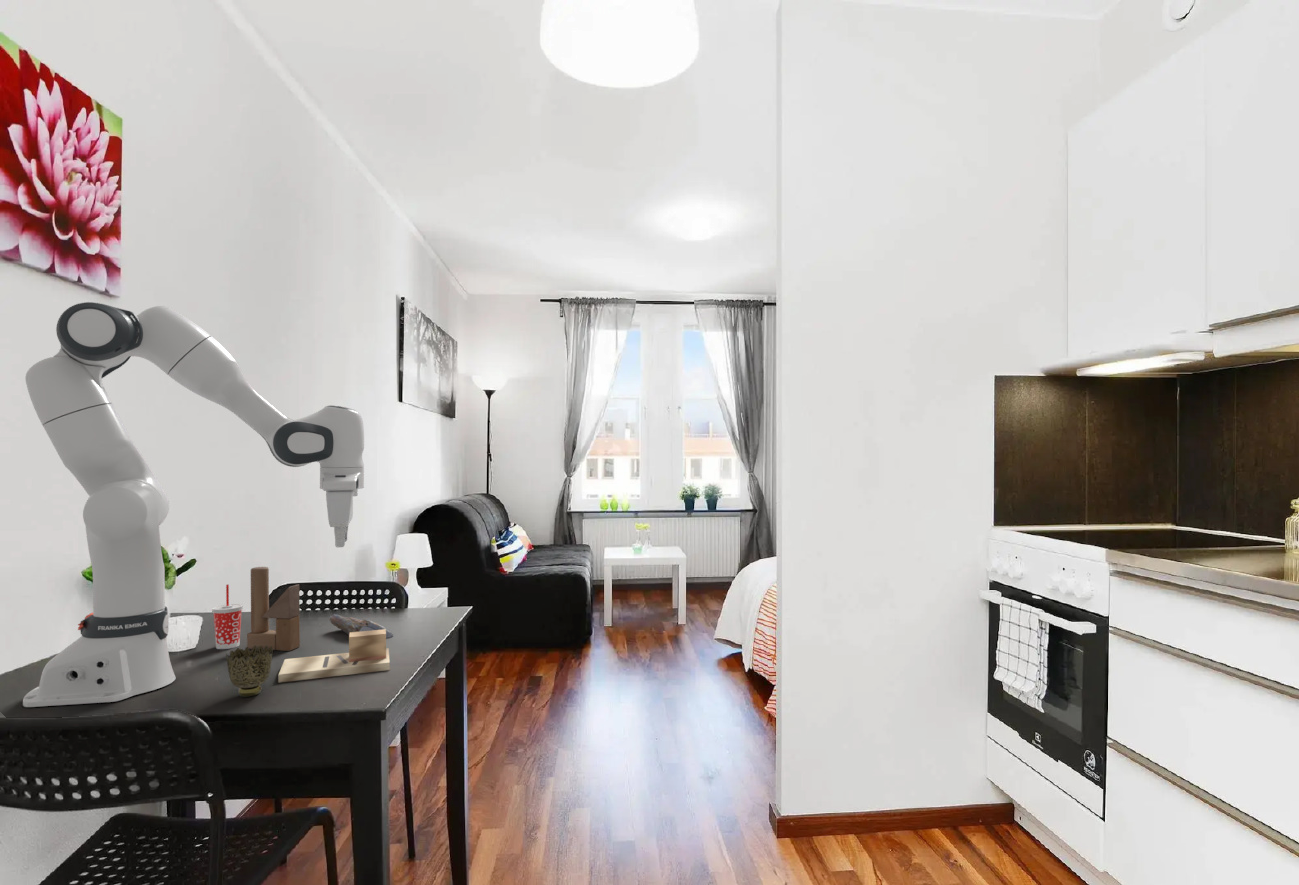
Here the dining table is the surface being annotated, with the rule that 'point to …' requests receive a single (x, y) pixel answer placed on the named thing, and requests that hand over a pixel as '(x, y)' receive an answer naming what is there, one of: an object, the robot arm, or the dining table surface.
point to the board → (328, 666)
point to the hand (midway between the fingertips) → (341, 544)
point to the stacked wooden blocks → (273, 615)
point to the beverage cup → (227, 624)
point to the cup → (249, 669)
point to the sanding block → (367, 645)
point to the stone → (356, 625)
